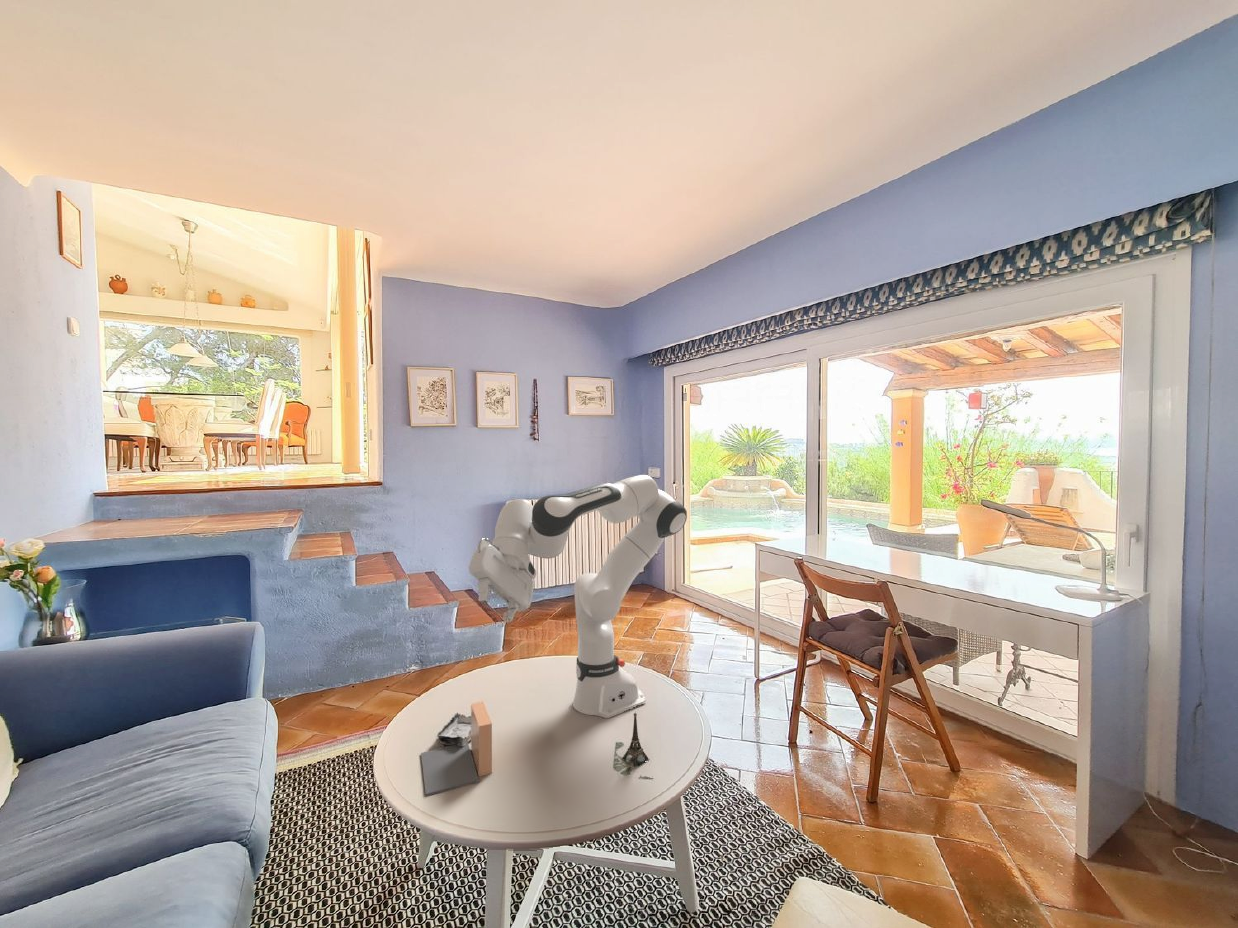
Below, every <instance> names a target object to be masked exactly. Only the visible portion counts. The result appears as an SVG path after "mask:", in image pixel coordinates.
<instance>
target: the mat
mask: <svg viewBox="0 0 1238 928" xmlns="http://www.w3.org/2000/svg"><path fill="white" fill-rule="evenodd" d="M420 756H421V757H420V758H421V765H422V775H423V783H424V793H425V797H428V795H429V796H432V795H435V794H439V793H442V792H447V791H450V790H453V789H457V788H461V787H464V786H469V785H471V784H475V783H479V775H478V772H477V768H476V765H475V761H474V758H473V754H472V751H471V747H470V745H469V742H468V743H466V745H465V746H463V747H462V746H458V745H447V746H444V747H440V748H437V749H436V748H435V749H432V750H427V751H423V752H421V753H420Z"/></svg>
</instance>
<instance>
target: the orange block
mask: <svg viewBox="0 0 1238 928" xmlns="http://www.w3.org/2000/svg"><path fill="white" fill-rule="evenodd" d="M470 708H471V709H470V716H471V740H470V742H471V743H470V744H471V745H470V751H471V754H472V758H473V761H474V765H475V768H476V772H477V775H478V777H481V776H485V775H490V774H492V773H493V737H492V735H493V732H492V731H493V723H492V721H491V718H490V715H489V713H488V710H487V708H486V705H485V703H484V701H479V702H472V703H471V704H470Z"/></svg>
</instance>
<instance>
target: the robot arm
mask: <svg viewBox="0 0 1238 928" xmlns="http://www.w3.org/2000/svg"><path fill="white" fill-rule="evenodd" d="M596 511H598V513H599V514H600V516H601V517H602V518H603V519H604V520H606V521H607V522H609V523H612V524H620V523H624V522H626V521H629V520H631V519H632V518H635V517H637V518H638V519H639V521H638V522H637V523H636V524H635V525H634V526H632V528H630V529H629V531H628V532H627V533H626V534H624V536H623V537H622V538H621V539H620V540H619V541H618V543H617V544H616V545H615V546H614V547H613V548H612V549H611V551H610V552H609V553H608V554H607V556H606V558H605V561H604V563H603V565H602V567H601V568H600V570H599V572H598V573H596V572H585V573H583V574H581V575H579V576H578V577H577V579H575V582H574V585H573V593H574V607H575V618H576V627H577V657H576V667H575V670H576V671H575V672H576V678H577V679H576V687H575V693H574V697H573V702H572V707H573V708H574V710H575V711H577V712H579V713H581V714H585V715H590V716H598V717H602V718H605V719H609V718H612V717H614V716H617V715H620V714H623V713H624V711H625V712H627V711H629V710H628V709H630V710H632V709H634V708H633V707H635V706H637V705H640V706H642V705H641V704H643V703H644V702H645V703H646V696H645V695H644V693H643V692H642V691H641V690H640V689H639V688H638V685H637V681H636V680H635V677H633V676H632V675H631V674H630V673H629V672H628V671H626V670H624V669H623V667H625V665H626V662H625V660H623V659H622V658H620V657H618V656H617V655H615V653H614V650H615V648H614V647H615V646H614V645H615V643H614V642H615V641H614V639H615V637H614V635H615V632H614V628H613V623H612V620H613V619H614V618H615V617H616V616H617V615H618V614H619V611H620V610H621V604H622V601H623V600H624V597H625V596H626V594H627V592H628V591H629V588H630V587H631V585H632V583H633V581H634V580H635V579H636V578H637V576H638V575H639V574H640V572H641V571H643V569H644V568H645V566H646V565H647V564H648V563H649V562H650V561H651V560H652V558H653V557H654V556H655V555H656V553H657V551H658V550H659V549H660V548H661V546H662V544H663V542H664V541H665V538H667V537H671V536H674V535H675V534H678V532H680V531H681V530H682V529H683V527H684V526H685V525H686V522H687V519H688V513H687V512H688V511H687V509H686V508H685V506H683V505H682V503H681V502H679V501H677V500H676V499H675V498H673V496H671V495H670V494H668V493H667V492H666V491H664V490H661V489H660V488H659V485H658V484H657V482H656V481H655V479H653V478H652V477H651V476H649V475H647V474H639V475H638V474H637V475H634V476H630V477H627V478H623V479H621V480H619V481H616V482H614V483H609V482H608V483H600V484H596V485H593V486H590V487H586V488H583V489H579V490H576V491H572V492H569V493H564V494H563V493H562V494H550V495H546V496H542V497H541V498H540V499H538V500H536V502H535V503H534V505H533V504H532V503H531V502H530V501H529V500H526V499H522V498H518V499H517V498H516V499H512V500H510V501H508V502H507V503H505V504H504V505H503V506H502V508H501V510H500V511H499V512H500V513H499V515H498V516H497V517H498V518H497V520H496V524H495V528H494V533H495V534H494V538H493V539H492V541H491V540H490V539H489V538H484V537H483V538H480V540H478V544H477V548H476V549H474V550H475V551H474V553H473V555H472V557H471V559H470V563H469V565H468V570H469V571H468V572H469V573H470V575H471V576H472V577H473V578H475V580H477V587H478V592H479V595H478V599H477V600H478V601H479V602H480V603H482V604H488V603H489V601H490V597H491V594H490V593H489V590H490V591H491V593H493V594H494V595H496V596H497V597H498V598H499V599H501V600H502V601H503V602H504V603H506V604H507V609H508V610H507V611H505V612H503V617H502V620H503V621H504V622H506V623H510V622H513V620H514V616H515V614H516V613H517V612H521V611H522V612H523V611H527V610H528V609H529V608H530V607H531V603H532V599H533V596H534V595H533V594H534V586H535V585H534V580H533V579H535V578H537V577H536V576H537V570H536V568H535V567H534V564H533V563H532V561H531V558H530V556H534V557H538V558H539V559H540V558H541V559H553V558H556V557H559V556H560V554H562V553H563V551H564V549H565V547H566V544H567V543H566V542H567V539H568V536H569V534H570V531H571V528H572V526H573V525H574V523H575V521H576V520H577V519H578V518H580V517H582V516H585V515H587V514H590V513H593V512H596ZM529 555H530V556H529ZM643 705H644V704H643ZM635 708H636V707H635ZM626 710H627V711H626Z"/></svg>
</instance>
